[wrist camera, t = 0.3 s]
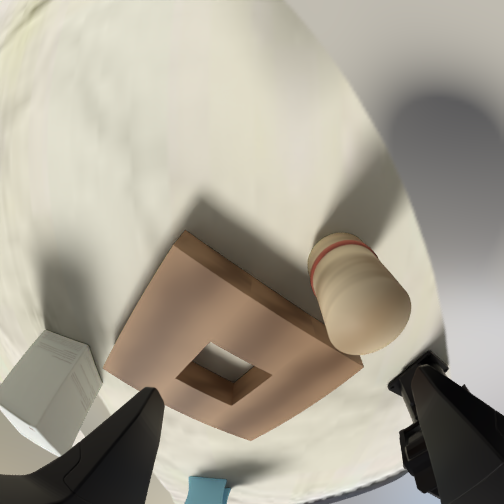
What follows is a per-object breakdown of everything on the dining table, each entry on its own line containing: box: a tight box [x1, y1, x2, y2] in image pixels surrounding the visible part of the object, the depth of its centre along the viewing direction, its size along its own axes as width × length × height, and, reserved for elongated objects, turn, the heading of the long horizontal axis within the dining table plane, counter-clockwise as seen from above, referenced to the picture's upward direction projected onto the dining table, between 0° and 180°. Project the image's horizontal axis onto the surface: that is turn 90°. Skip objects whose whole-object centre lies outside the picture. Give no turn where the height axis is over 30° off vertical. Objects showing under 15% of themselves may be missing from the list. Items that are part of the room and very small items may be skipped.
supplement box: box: [0, 330, 102, 457], centre depth 20 cm, size 7×7×13 cm
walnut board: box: [103, 230, 364, 441], centre depth 22 cm, size 18×16×3 cm
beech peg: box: [308, 232, 411, 355], centre depth 16 cm, size 5×5×8 cm
